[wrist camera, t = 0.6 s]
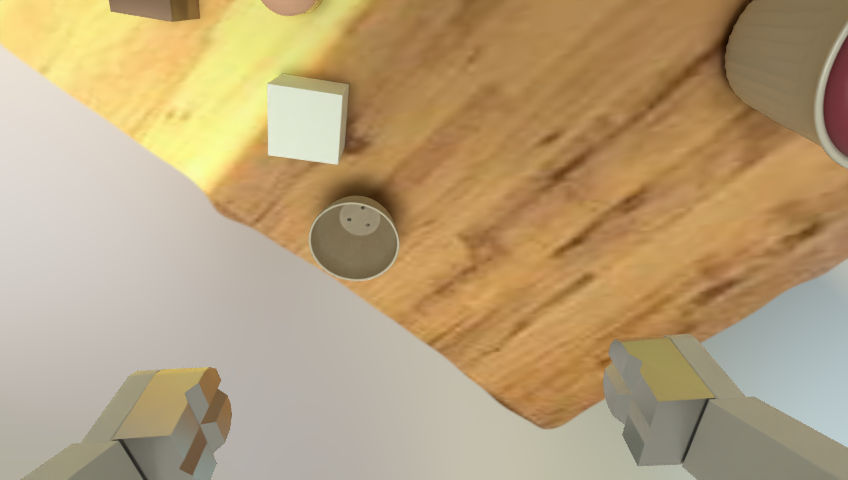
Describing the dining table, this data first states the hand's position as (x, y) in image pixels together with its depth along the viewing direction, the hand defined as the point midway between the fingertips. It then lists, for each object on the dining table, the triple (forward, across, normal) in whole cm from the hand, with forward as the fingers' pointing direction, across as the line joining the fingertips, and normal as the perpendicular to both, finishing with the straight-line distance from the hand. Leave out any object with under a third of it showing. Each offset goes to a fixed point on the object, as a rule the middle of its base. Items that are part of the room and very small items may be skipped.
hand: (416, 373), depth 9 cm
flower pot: (+43, +7, +17) cm, 47 cm away
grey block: (+43, +10, +4) cm, 44 cm away
